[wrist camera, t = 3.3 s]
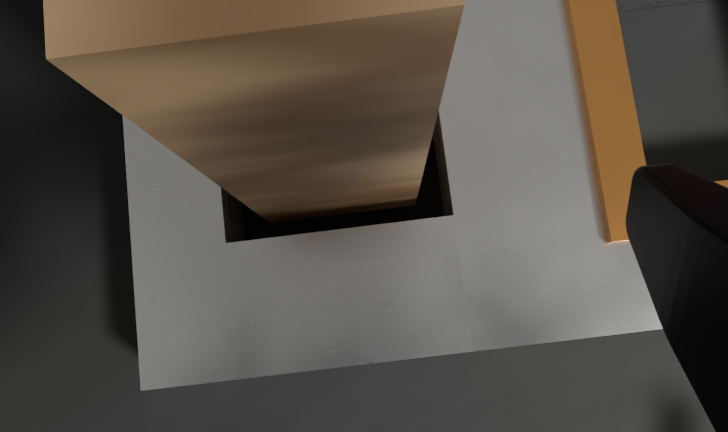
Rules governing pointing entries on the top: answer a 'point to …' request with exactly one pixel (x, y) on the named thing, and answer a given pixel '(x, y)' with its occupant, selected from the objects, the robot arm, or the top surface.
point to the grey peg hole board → (419, 223)
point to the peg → (272, 90)
